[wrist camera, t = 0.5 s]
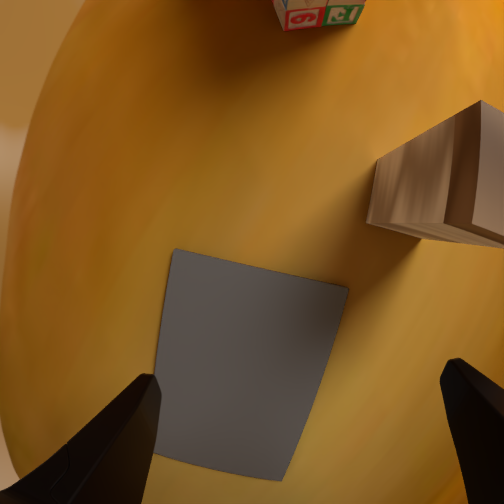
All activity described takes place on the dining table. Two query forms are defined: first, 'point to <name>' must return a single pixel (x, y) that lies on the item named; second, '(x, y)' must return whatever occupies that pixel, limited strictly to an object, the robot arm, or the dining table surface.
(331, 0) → the stack of blocks
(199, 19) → the dining table surface
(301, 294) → the dark gray tapered panel
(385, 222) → the tall pale block
